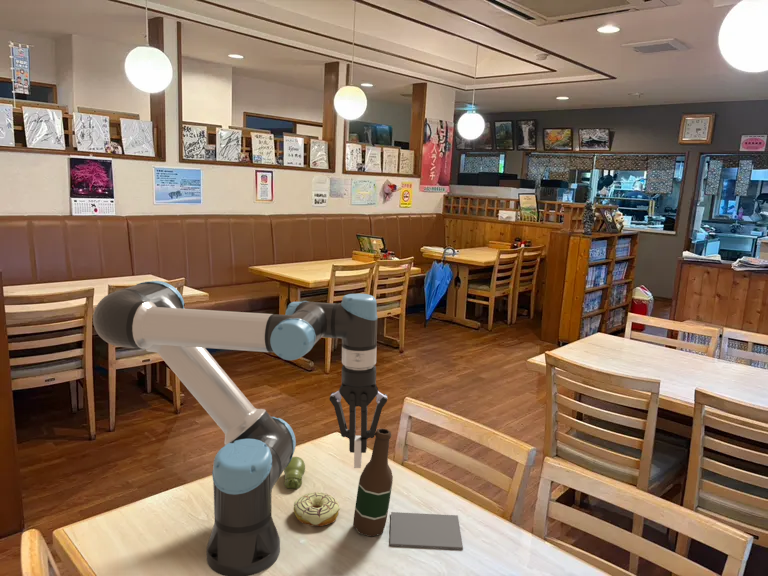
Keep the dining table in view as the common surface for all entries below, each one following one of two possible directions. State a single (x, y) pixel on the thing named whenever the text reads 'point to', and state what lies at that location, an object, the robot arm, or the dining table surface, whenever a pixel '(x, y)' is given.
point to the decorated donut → (316, 509)
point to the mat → (425, 530)
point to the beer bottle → (374, 489)
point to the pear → (294, 473)
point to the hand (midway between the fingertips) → (357, 465)
